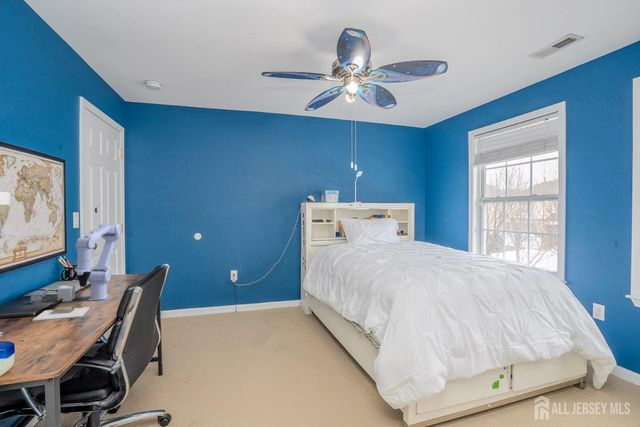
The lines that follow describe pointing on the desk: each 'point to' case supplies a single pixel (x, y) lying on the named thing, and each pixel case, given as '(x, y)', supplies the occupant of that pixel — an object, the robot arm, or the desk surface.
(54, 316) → the mat
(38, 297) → the lighter
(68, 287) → the skincare box
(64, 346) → the desk surface
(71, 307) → the brown wooden block
